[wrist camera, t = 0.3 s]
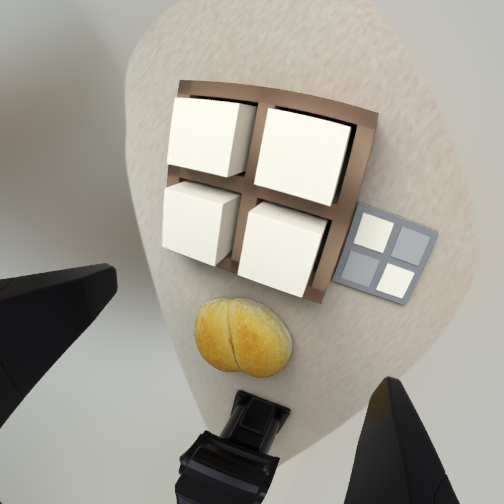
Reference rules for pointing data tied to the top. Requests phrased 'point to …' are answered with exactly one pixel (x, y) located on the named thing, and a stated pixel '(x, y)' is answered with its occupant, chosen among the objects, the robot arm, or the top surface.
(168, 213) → the button
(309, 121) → the button
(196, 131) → the button
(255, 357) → the bread roll
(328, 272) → the brown flat square grid
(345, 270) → the pattern card
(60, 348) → the robot arm
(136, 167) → the top surface
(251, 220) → the button
